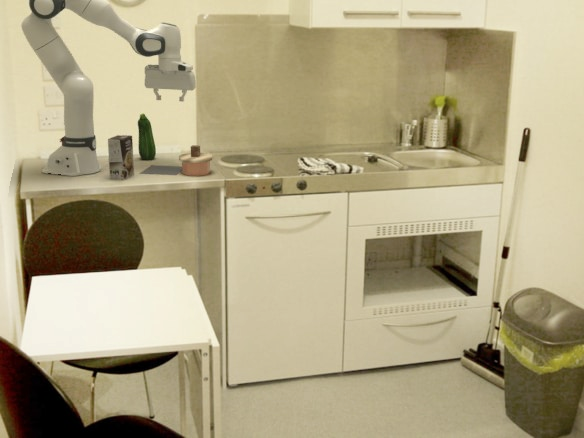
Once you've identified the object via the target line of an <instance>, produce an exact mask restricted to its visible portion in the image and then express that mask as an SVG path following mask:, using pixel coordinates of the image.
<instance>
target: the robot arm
mask: <svg viewBox="0 0 584 438" xmlns="http://www.w3.org/2000/svg"><path fill="white" fill-rule="evenodd" d="M28 5H29V8H30V11H31V13H30V14H29V15H28V16H26V17H25V18H24V19H23V21H22V22H21V25H20V26H21V30H22V33H23V34H24V36H25V39H26V41H27V42H28V45H29V46H30V47H31V49H32V50H33V52H34V53H35V54H36V55H37V57H38V59H39V60H40V62H41V63H42V65H43V66H44V68H45V69H46V71H47V72H48V73H49V75H50V77H51V78H52V80H53V81H54V82H55V84H56V86H57V88H58V89H59V90H60V91H61V93H62V94H63V107H64V108H63V111H64V112H63V121H64V122H63V124H64V136H62V137H61V138H59V143H61V145H60V146H58V148H56V149H55V150H54V151H53V152H52V153H51V154H50V155H49V156H48V159H47V166H45V167H44V168H42V169H41V170H42V171H41V172H43V174H48V173H51V174H50V175H58V174H61V176H69V177H70V176H71V177H76V176H81V175H90V174H95V173H98V172H101V170H102V168H101V167H100V163H99V160H98V156H97V155H98V154H97V139H96V135H95V130H94V129H95V126H94V84H93V81H92V80H91V79H90V77H88V76H87V75H85V73H84V72H83V71H82V69H81V67H80V65H79V64H78V63H77V61H76V59H75V58H74V56H73V54H72V53H71V51H70V49H69V48H68V47H67V45H66V43H65V42H64V41H63V39H62V37H61V36H60V34H59V33H58V32H57V30H56V29H55V27H54V25H53V23H52V19H53V18H55V17H56V16H57V15H59V14H60V13H61V12H62V11H64V10H65V9H67V10H70V11H71V12H73V13H74V14H76V15H77V16H79V17H80V18H82V19H83V20H85V21H86V22H89V23H91V24H93V25H96V26H98V27H104V28H105V29H106V28H107V29H109V30H111V31H112V32H114V33H115V34H116V35H118V36H120V37H121V38H123V40H125V41H126V42H127V43H129V45H130V47H131V48H132V50H133V51H134V52H135V53H136V54H138V55H139V56H142V57H145V58H150V57H151V58H152V57H154V56H158V57H157V58H158V61H157V62H158V63H157V64H147V65H146V66H145V67H144V75H145V76H144V87H145V88H146V89H153V90H152V91H153V93H154V95H155V96H156V97H155V98H156V101H161V100H162V95H160V94H159V90H175V91H176V90H177V91H181V93H182V95H181V96H178V99H179V102H183V103H184V102H185V96H186V95H187V91H194V90H195V89H196V86H197V85H196V84H197V83H196V75H195V72H193V69H194V65H192V64H190V63H188V62H185V61H182V56H181V49H182V39H181V38H182V36H181V30H180V28H179V26H177V25H176V24H172V23H169V22H160V23H159V24H157V25H156V26H154V27H152V28H150V29H142V28H138V27H136V26H135V25H132V24H131V23H130V22H129V21H127V20H126V19H124V18H123V17H121V15H119V14H118V13H117V12H116V11H115V10H114V8H113V6H112V4H111V3H110V2H109V1H108V0H28Z"/></svg>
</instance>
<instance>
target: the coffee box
mask: <svg viewBox="0 0 584 438" xmlns="http://www.w3.org/2000/svg"><path fill="white" fill-rule="evenodd" d="M107 147H108V149H107V152H108V165H109V179H110V180H115V181H118V180H119V181H126V180H128V179H130V178H132V177H133V176H135V165H134V149H133V135H127V134H125V135H124V134H123V135H118V134H117V135H115V136H112V137H110V138H108V139H107Z"/></svg>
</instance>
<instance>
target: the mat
mask: <svg viewBox="0 0 584 438" xmlns="http://www.w3.org/2000/svg"><path fill="white" fill-rule="evenodd" d="M181 172H182V165H181V166H179V165H155V164H154V165H153V164H152V165H150V166H149V167H147V168H145V169H144V170H142V171H141V172H140V173H139V174H141V175H158V176H159V175H161V176H177V175H179V174H180V173H181Z"/></svg>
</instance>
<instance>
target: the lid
mask: <svg viewBox="0 0 584 438" xmlns="http://www.w3.org/2000/svg"><path fill="white" fill-rule="evenodd" d="M178 160H179V161H180V162H181V163H182V162H188V163H201V162H208V161H210V162H211V161H213V155H212V154H211V153H207V152H206V153H205V152H201V145H200V144H199V145H191V146H190V152H187V153H183V154H180V155H178Z"/></svg>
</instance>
